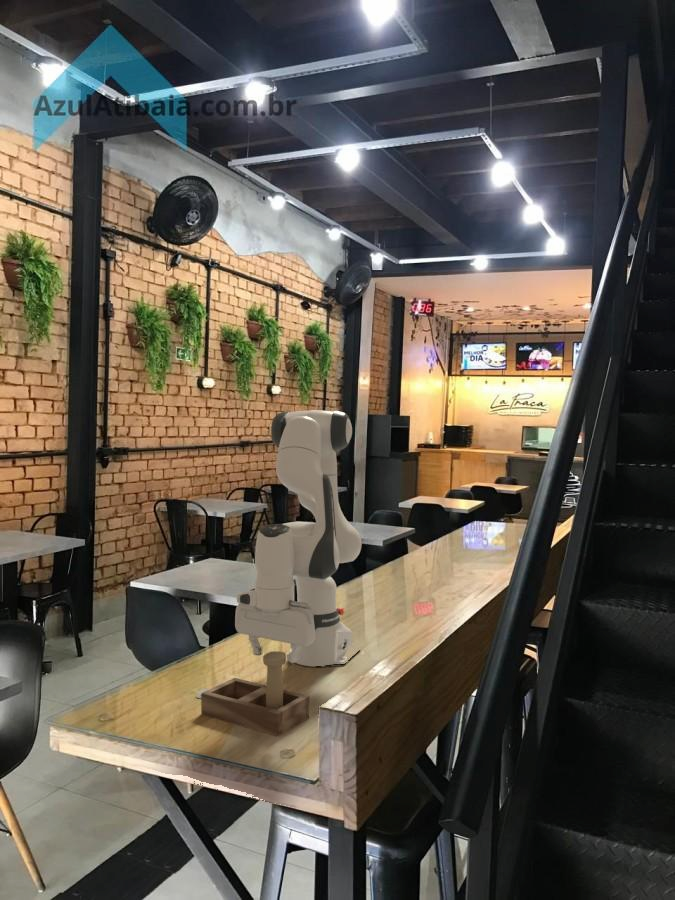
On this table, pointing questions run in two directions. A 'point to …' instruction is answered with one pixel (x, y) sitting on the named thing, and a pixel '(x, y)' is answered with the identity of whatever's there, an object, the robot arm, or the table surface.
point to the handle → (274, 679)
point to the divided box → (254, 707)
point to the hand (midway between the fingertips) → (274, 658)
